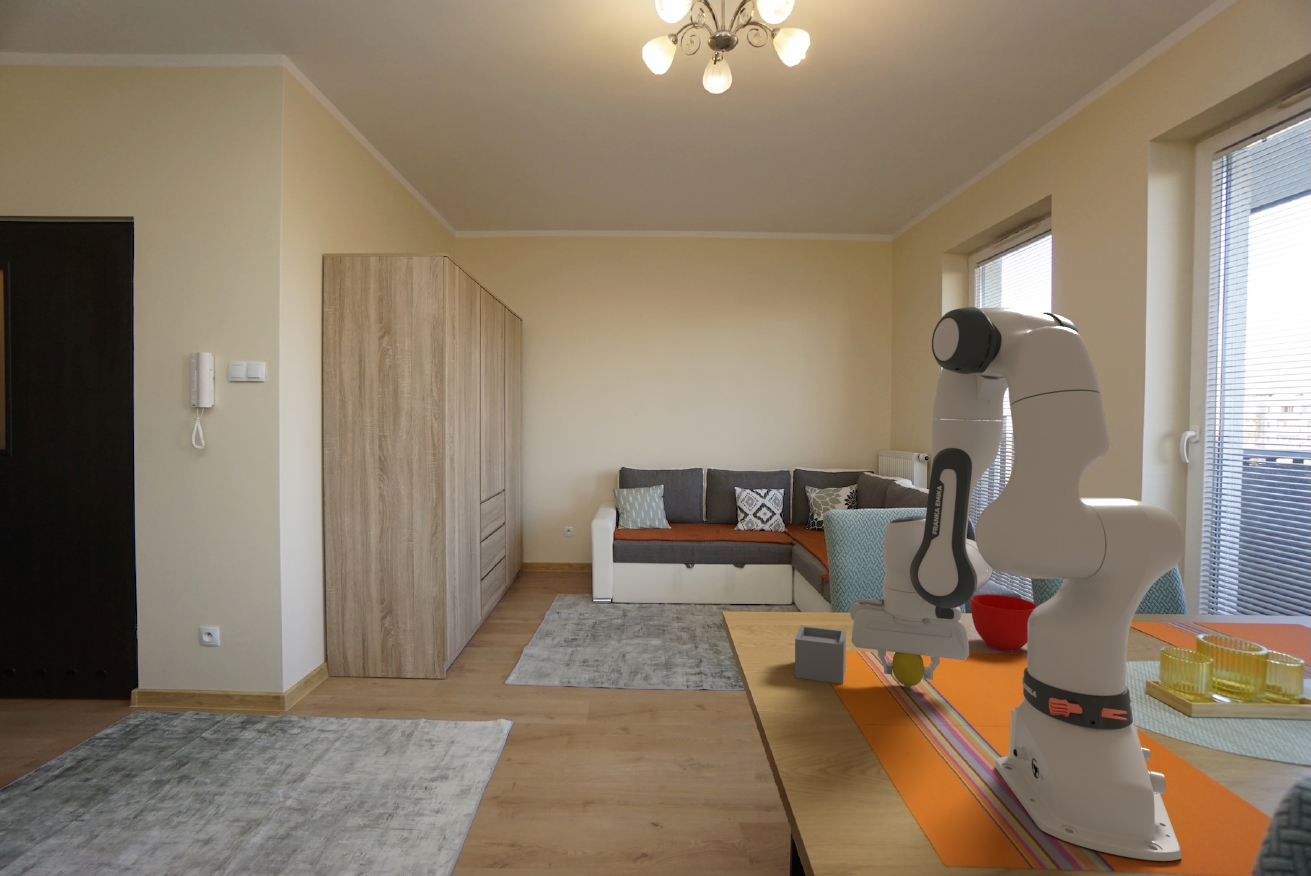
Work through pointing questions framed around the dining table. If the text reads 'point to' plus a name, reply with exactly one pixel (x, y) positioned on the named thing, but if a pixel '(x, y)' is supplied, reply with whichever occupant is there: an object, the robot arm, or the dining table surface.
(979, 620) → the red bowl
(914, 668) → the lemon
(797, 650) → the grey open box
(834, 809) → the dining table surface
